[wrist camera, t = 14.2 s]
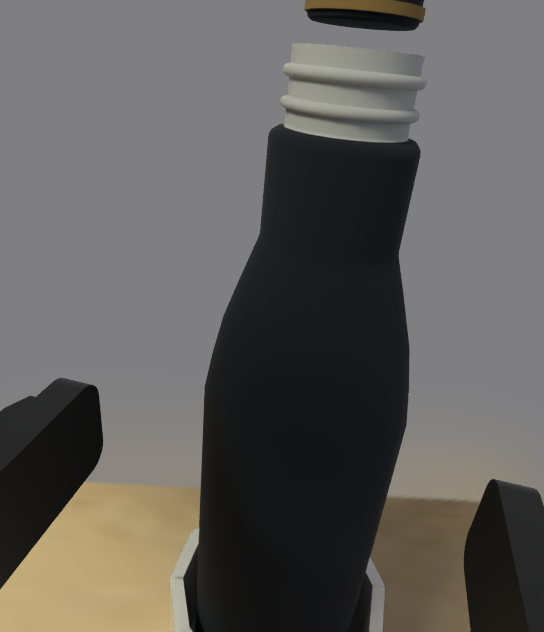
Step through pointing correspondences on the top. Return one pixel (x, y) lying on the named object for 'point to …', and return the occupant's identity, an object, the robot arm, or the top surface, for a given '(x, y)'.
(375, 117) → the black insulated water bottle
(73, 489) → the robot arm
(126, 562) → the top surface
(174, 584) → the ceramic cup
